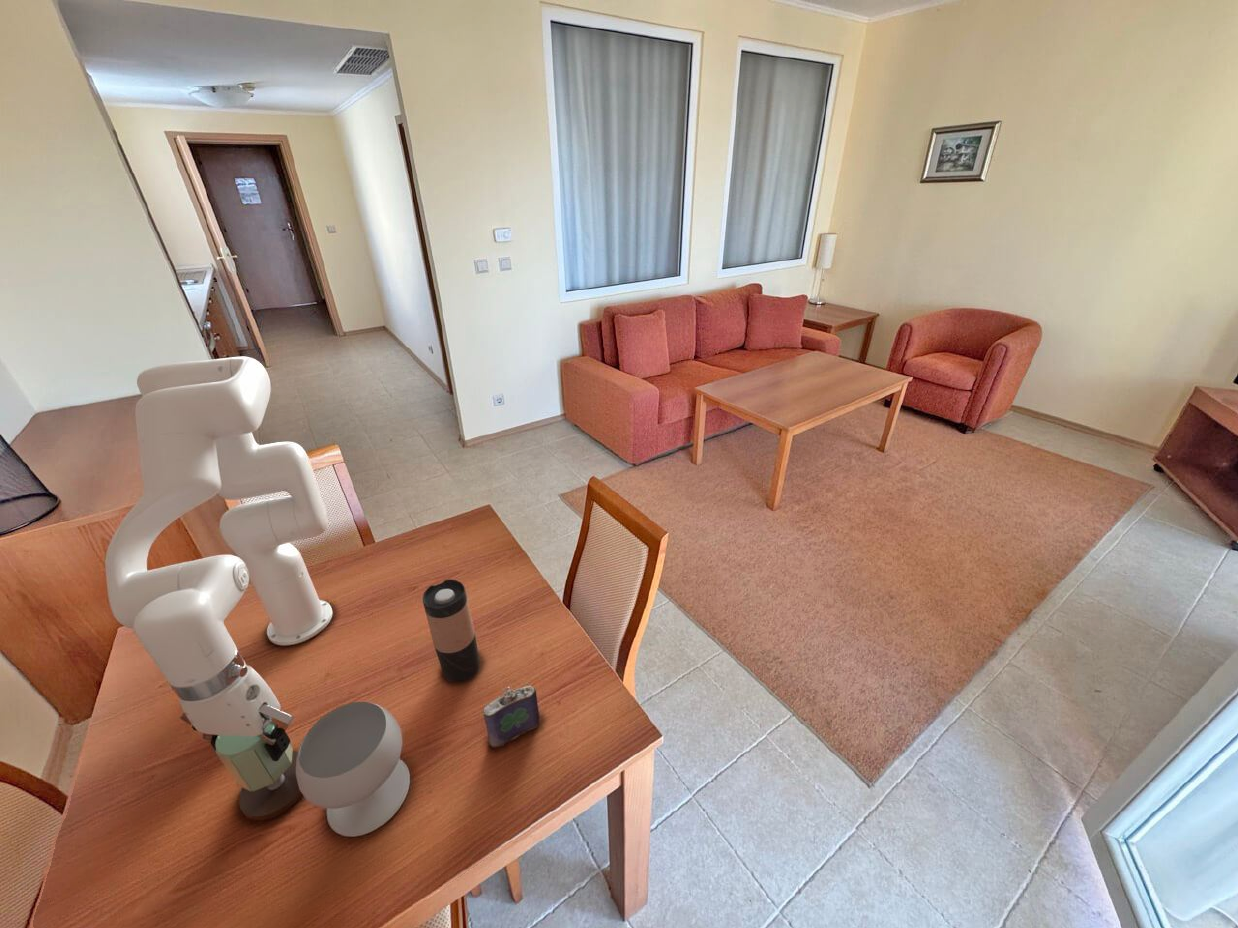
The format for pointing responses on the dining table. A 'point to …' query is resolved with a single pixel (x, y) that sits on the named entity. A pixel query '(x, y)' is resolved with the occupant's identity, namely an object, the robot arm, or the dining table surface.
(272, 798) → the towel holder
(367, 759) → the chalice
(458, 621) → the travel mug
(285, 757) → the green cup
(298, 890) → the dining table surface
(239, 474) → the robot arm
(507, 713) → the flask
